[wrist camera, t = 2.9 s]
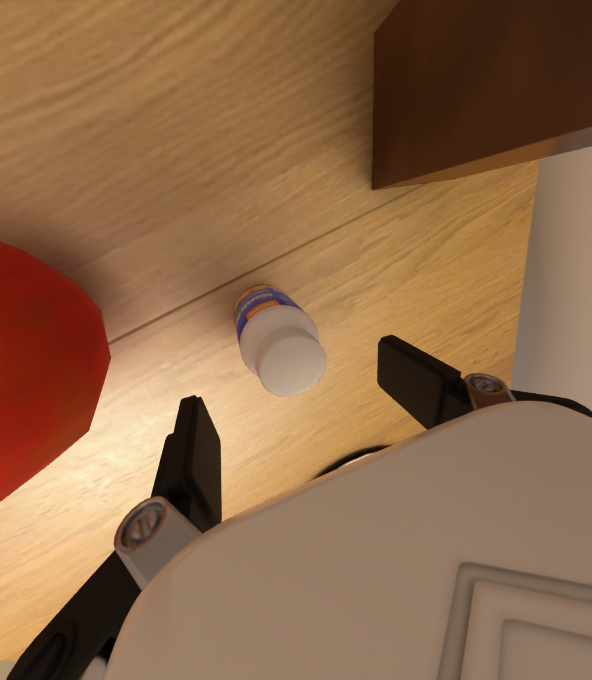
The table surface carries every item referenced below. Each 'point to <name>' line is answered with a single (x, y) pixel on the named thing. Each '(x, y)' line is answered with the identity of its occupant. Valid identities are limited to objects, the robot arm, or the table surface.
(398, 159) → the stand
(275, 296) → the pill bottle
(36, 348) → the apple
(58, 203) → the table surface
